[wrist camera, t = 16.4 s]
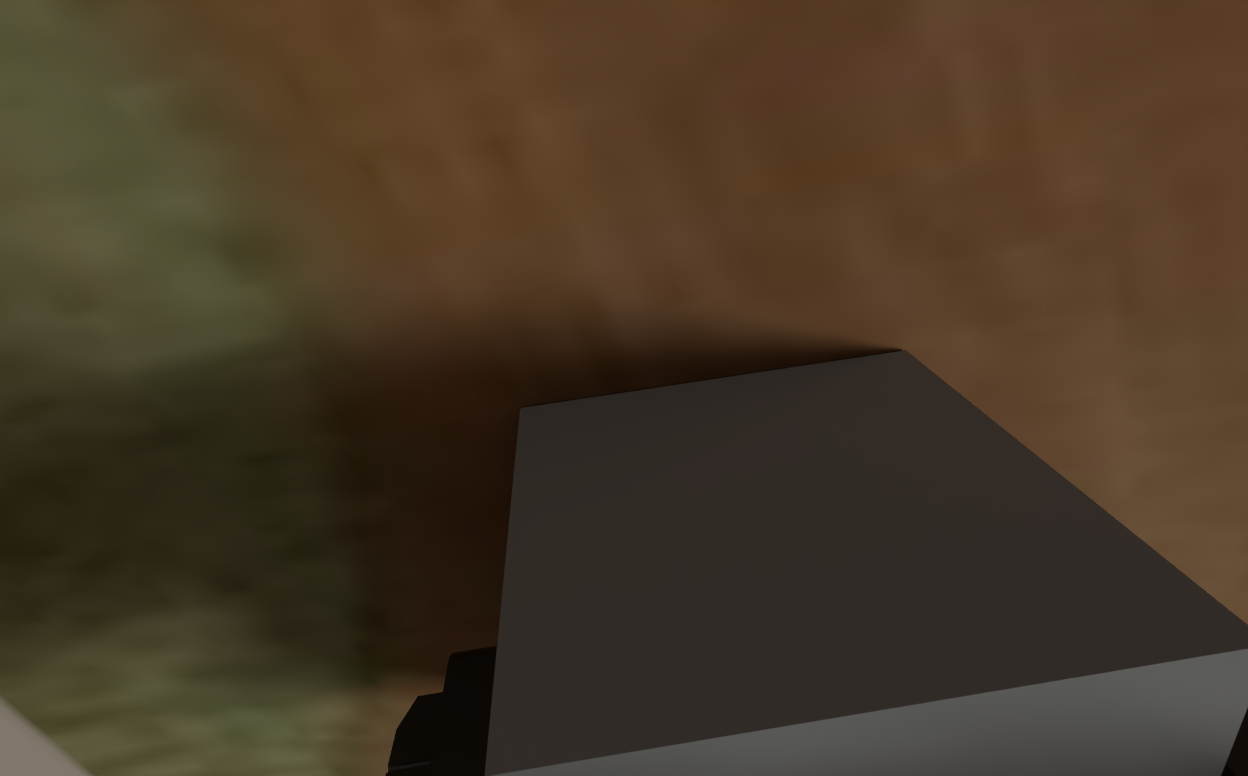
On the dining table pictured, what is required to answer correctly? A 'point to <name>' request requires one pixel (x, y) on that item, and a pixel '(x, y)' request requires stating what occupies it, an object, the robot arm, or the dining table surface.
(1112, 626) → the matte gray cube
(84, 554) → the dining table surface
